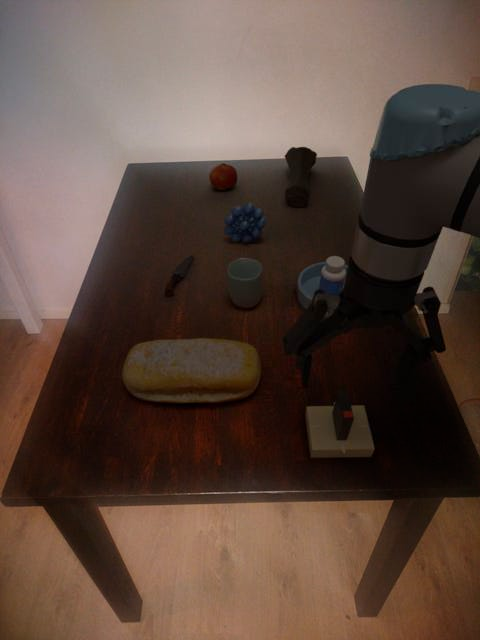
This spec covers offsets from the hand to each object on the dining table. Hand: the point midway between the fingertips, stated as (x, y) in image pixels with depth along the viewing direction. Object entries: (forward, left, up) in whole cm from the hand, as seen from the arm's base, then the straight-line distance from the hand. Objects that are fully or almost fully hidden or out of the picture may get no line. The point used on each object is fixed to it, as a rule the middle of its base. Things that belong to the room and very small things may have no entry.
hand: (351, 379), depth 55 cm
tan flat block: (0, 0, -16) cm, 16 cm away
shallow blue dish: (+18, -31, -16) cm, 39 cm away
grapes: (+48, -38, -17) cm, 63 cm away
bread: (+28, +6, -17) cm, 33 cm away
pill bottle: (+18, -31, -16) cm, 39 cm away
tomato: (+73, -59, -17) cm, 95 cm away
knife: (+53, -16, -17) cm, 57 cm away
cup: (+33, -18, -17) cm, 41 cm away
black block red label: (0, 0, -13) cm, 13 cm away
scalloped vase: (+51, -73, -17) cm, 91 cm away
